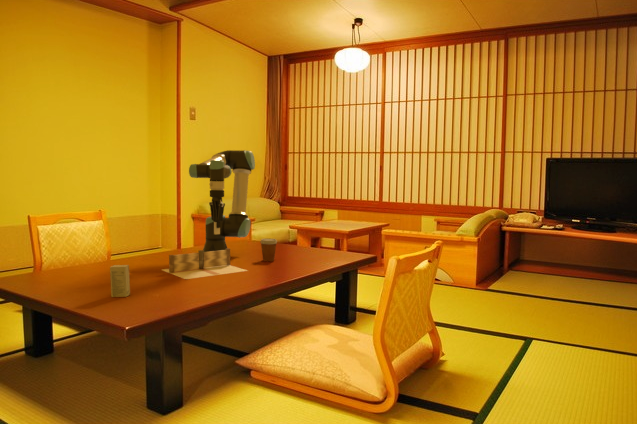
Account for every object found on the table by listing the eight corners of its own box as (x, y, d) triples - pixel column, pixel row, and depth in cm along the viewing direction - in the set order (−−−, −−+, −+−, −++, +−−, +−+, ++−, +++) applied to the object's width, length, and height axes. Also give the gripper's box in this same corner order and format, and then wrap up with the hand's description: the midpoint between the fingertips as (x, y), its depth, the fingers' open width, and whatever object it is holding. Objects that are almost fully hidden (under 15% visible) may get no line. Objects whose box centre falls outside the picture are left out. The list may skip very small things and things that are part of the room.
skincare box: (130, 294, 202) (129, 264, 201) (126, 297, 198) (126, 266, 197) (114, 294, 202) (113, 264, 201) (110, 297, 198) (109, 266, 197)
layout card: (160, 270, 252) (160, 269, 252) (220, 263, 274) (220, 262, 274) (185, 280, 230) (185, 279, 230) (248, 271, 252) (248, 270, 252)
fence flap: (204, 268, 255) (204, 251, 255) (202, 267, 257) (202, 250, 256) (230, 264, 265) (230, 248, 264) (228, 264, 266) (228, 248, 266)
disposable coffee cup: (276, 262, 279) (276, 240, 279) (259, 261, 280) (259, 240, 279) (277, 259, 289) (277, 238, 288) (261, 258, 289) (261, 238, 288)
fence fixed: (202, 268, 257) (201, 250, 256) (204, 269, 255) (204, 250, 254) (169, 272, 245) (168, 253, 245) (171, 273, 244) (170, 254, 243)
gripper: (204, 189, 266) (204, 233, 268) (216, 190, 256) (216, 235, 258) (217, 189, 271) (217, 232, 272) (229, 189, 261) (229, 234, 263)
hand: (216, 234), depth 265 cm, fingers closed
